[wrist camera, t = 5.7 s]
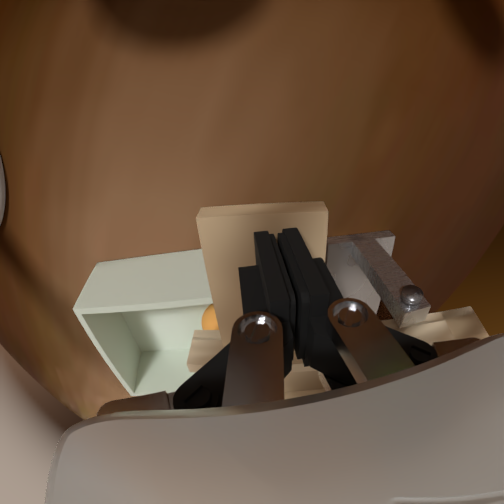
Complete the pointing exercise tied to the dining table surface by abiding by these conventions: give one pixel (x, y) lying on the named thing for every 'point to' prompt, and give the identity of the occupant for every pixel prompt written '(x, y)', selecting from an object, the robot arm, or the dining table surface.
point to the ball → (209, 319)
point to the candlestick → (2, 191)
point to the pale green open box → (146, 317)
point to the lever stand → (375, 275)
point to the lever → (243, 254)
